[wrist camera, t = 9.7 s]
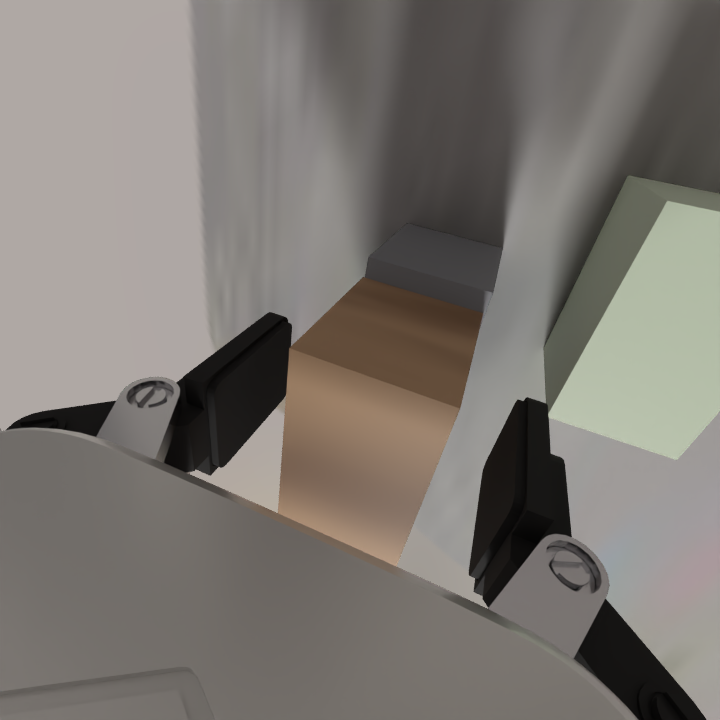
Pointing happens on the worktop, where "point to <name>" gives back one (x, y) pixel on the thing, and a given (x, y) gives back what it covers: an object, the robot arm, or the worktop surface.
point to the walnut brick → (372, 413)
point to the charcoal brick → (438, 266)
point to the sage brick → (643, 323)
